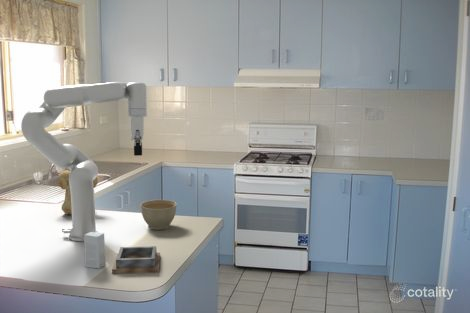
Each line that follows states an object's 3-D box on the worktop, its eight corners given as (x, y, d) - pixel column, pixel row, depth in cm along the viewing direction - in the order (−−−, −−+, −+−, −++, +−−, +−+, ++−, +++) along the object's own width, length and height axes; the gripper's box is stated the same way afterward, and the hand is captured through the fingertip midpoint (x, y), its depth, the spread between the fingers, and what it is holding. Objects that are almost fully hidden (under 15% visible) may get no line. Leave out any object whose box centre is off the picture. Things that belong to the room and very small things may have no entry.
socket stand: (112, 273, 178) (111, 261, 177) (117, 257, 194) (117, 246, 193) (158, 272, 179) (158, 260, 179) (160, 256, 195) (159, 244, 194)
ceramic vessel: (63, 208, 263) (61, 160, 259) (101, 207, 265) (100, 160, 261) (54, 217, 246) (51, 166, 242) (95, 216, 248) (93, 166, 244)
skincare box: (105, 264, 186) (104, 233, 184) (99, 268, 182) (98, 236, 180) (91, 262, 188) (90, 231, 186) (84, 266, 184) (83, 234, 182)
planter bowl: (133, 229, 229) (133, 205, 227) (155, 220, 243) (154, 198, 241) (163, 234, 222) (162, 210, 220) (183, 225, 236) (183, 202, 234)
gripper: (128, 111, 218) (129, 150, 221) (127, 114, 201) (128, 157, 204) (146, 111, 219) (147, 150, 222) (146, 114, 202) (147, 156, 205)
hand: (138, 153), depth 213 cm, fingers open, 9 cm apart
